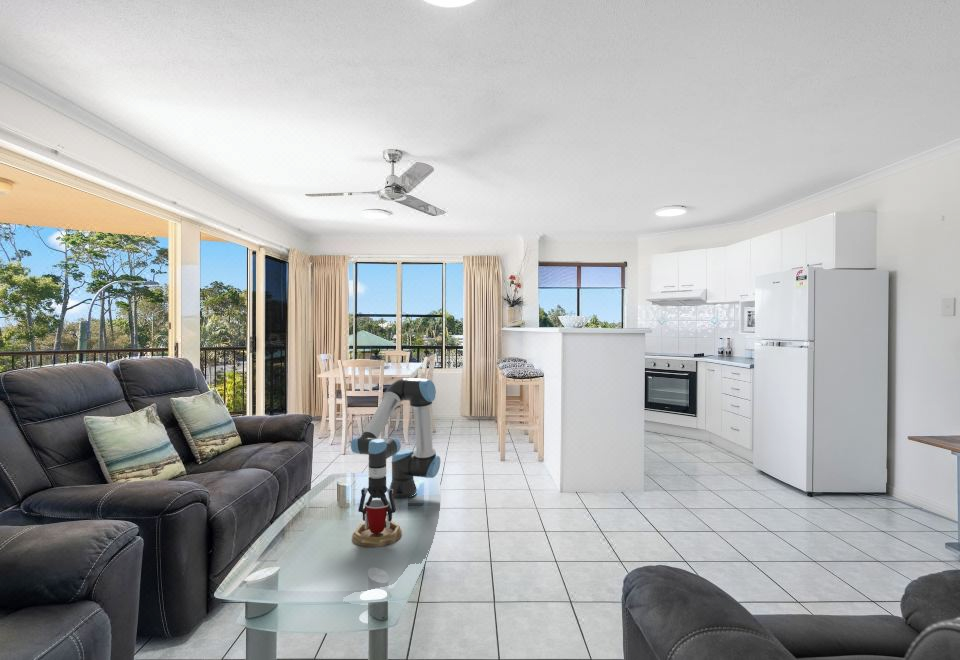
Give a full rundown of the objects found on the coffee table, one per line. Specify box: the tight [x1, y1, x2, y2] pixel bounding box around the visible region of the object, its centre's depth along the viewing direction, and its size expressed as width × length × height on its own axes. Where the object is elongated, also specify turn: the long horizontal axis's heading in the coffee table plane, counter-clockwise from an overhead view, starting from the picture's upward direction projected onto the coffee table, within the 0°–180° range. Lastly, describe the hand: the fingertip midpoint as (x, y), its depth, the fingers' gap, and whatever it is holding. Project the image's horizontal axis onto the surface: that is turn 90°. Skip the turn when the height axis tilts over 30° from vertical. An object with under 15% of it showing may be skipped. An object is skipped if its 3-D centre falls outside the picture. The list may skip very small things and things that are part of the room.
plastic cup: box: [364, 499, 391, 533], centre depth 193 cm, size 11×11×12 cm
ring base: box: [351, 520, 403, 548], centre depth 193 cm, size 21×21×3 cm
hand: (377, 528), depth 193 cm, fingers closed on plastic cup, 9 cm apart
